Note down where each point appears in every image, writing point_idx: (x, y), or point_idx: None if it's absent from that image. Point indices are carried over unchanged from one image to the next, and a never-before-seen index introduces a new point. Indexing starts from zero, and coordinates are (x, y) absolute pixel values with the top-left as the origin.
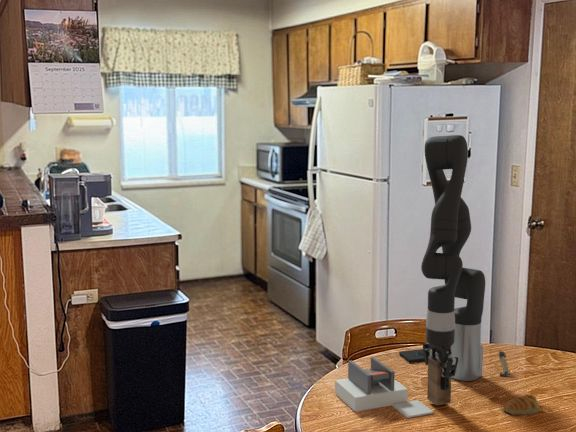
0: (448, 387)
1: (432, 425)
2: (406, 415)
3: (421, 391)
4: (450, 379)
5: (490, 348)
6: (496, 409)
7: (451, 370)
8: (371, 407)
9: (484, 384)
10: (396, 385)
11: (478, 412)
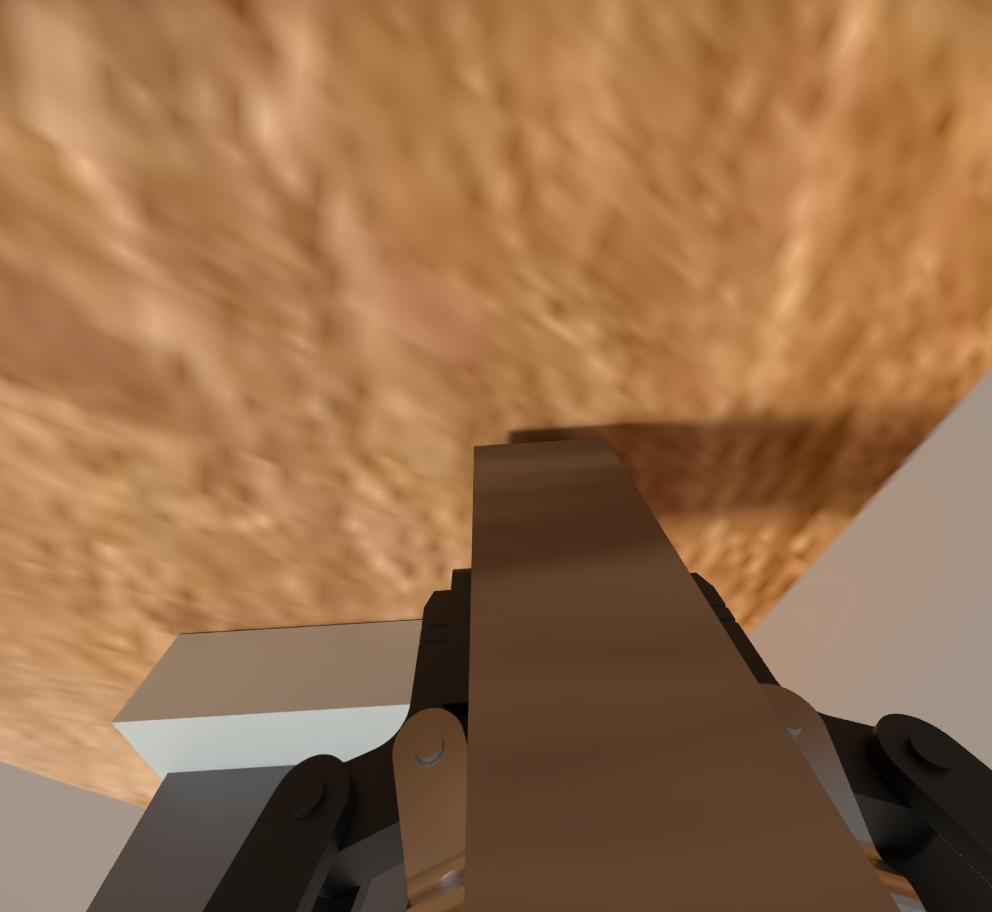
0: (701, 580)
1: (744, 614)
2: None
3: (293, 486)
4: (696, 593)
5: None
6: (871, 18)
7: (953, 845)
8: None
9: None
10: (370, 730)
11: (795, 270)
